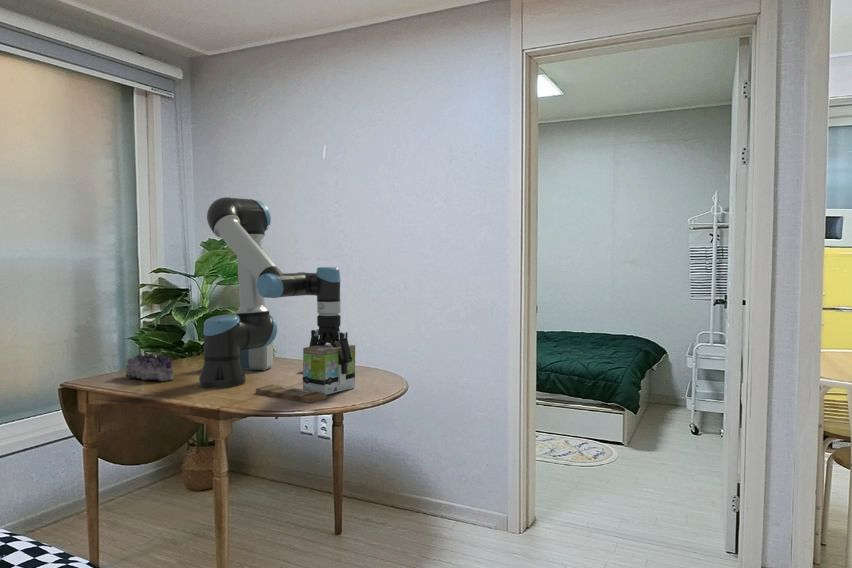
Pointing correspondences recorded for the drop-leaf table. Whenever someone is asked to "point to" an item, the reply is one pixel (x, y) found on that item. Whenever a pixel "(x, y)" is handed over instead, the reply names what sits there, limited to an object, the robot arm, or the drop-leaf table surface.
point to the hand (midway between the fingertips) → (329, 382)
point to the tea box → (326, 369)
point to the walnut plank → (291, 393)
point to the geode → (150, 368)
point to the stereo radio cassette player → (257, 358)
